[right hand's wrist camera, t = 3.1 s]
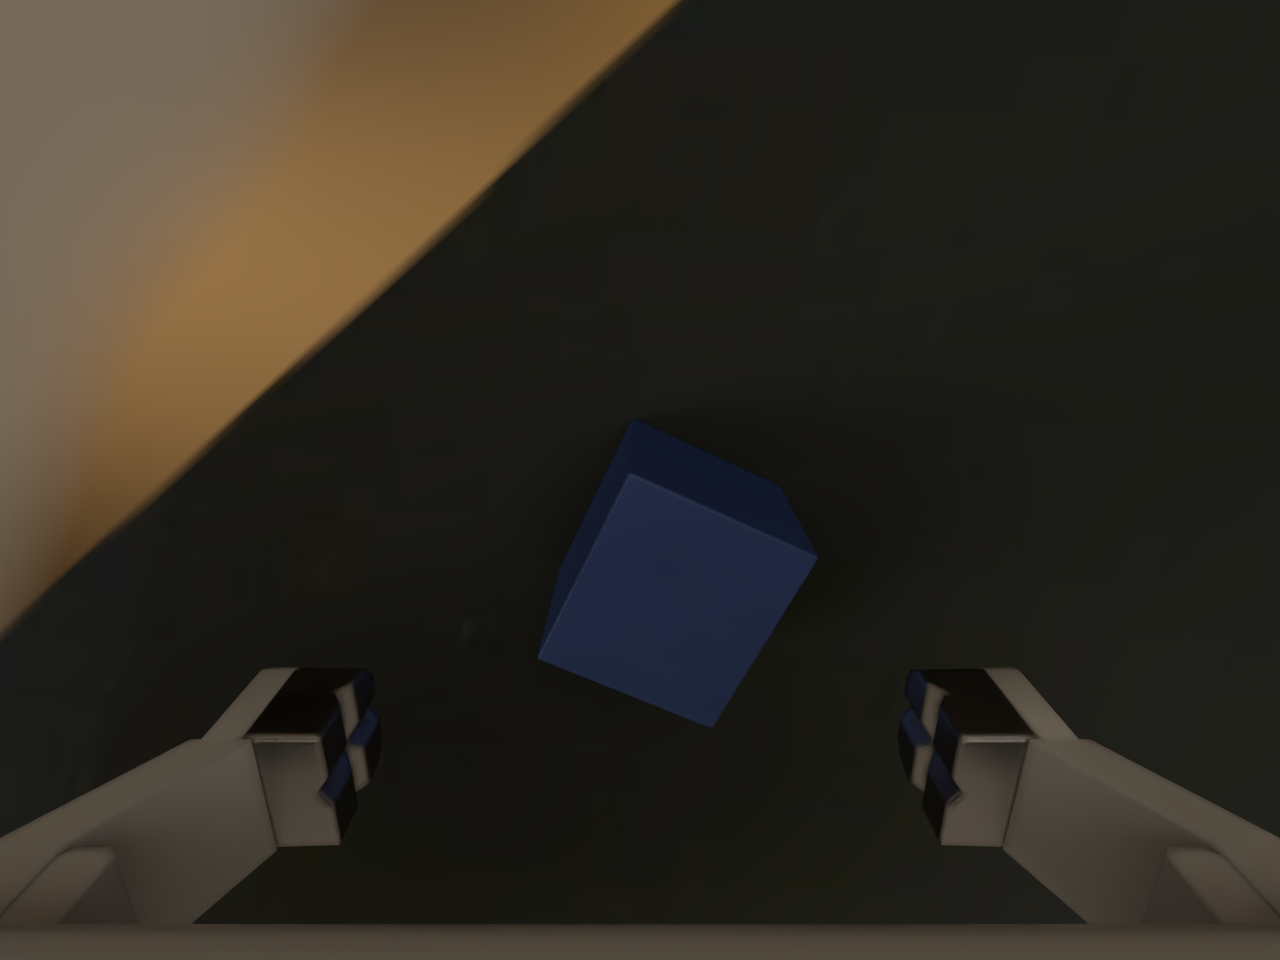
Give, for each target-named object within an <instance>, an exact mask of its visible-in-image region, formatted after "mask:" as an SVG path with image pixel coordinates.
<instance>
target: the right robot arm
mask: <svg viewBox="0 0 1280 960" xmlns="http://www.w3.org/2000/svg"><path fill="white" fill-rule="evenodd" d="M375 693H376V691H375V686H374V681H373V676H372V673H371V672H369V671H368V670H367V669H354V668H308V667H303V668H298V667H269V668H267V669H264V670H261V671H260V672H259V673H258V674H257V675H256V677H255V678H254V679H253V680H252V681H251V682H250V683H249V685H248V686H247V687H246V688H245V689H244V690H243V692H242V693H241V694H240V695H239V696H238V697H237V699H236V700H235V701H234V702H233V703H232V704H231V705H230V707H229V708H228V709H227V710H226V711H225V712H224V714H223V715H222V716H221V717H220V718H219V719H218V720H217V722H216V723H215V724H214V725H213V726H212V727H211V729H210V730H209V731H208V732H207V733H206V734H205V736H204V737H203V738H202V739H190V740H188V741H186V742H184V743H182V744H180V745H178V746H177V747H175V748H173V749H171V750H169V751H167V752H165V753H163V754H161V755H159V756H157V757H155V758H153V759H151V760H150V761H148V762H146V763H144V764H142V765H140V766H138V767H136V768H134V769H132V770H130V771H128V772H126V773H124V774H123V775H121V776H119V777H117V778H115V779H113V780H111V781H109V782H107V783H105V784H103V785H101V786H99V787H97V788H96V789H94V790H92V791H90V792H88V793H86V794H84V795H82V796H80V797H78V798H76V799H74V800H72V801H70V802H68V803H67V804H65V805H63V806H61V807H59V808H57V809H55V810H53V811H51V812H49V813H47V814H45V815H43V816H41V817H40V818H38V819H36V820H34V821H32V822H30V823H28V824H26V825H24V826H22V827H20V828H18V829H16V830H14V831H13V832H11V833H9V834H7V835H5V836H3V837H1V838H0V960H1280V838H1279V837H1277V836H1275V835H1273V834H1271V833H1269V832H1267V831H1265V830H1263V829H1261V828H1259V827H1257V826H1255V825H1254V824H1252V823H1250V822H1248V821H1246V820H1244V819H1242V818H1240V817H1238V816H1236V815H1234V814H1232V813H1230V812H1228V811H1227V810H1225V809H1223V808H1221V807H1219V806H1217V805H1215V804H1213V803H1211V802H1209V801H1207V800H1205V799H1203V798H1202V797H1200V796H1198V795H1196V794H1194V793H1192V792H1190V791H1188V790H1186V789H1184V788H1182V787H1180V786H1178V785H1177V784H1175V783H1173V782H1171V781H1169V780H1167V779H1165V778H1163V777H1161V776H1159V775H1157V774H1155V773H1153V772H1152V771H1150V770H1148V769H1146V768H1144V767H1142V766H1140V765H1138V764H1136V763H1134V762H1132V761H1130V760H1128V759H1126V758H1125V757H1123V756H1121V755H1119V754H1117V753H1115V752H1113V751H1111V750H1109V749H1107V748H1105V747H1103V746H1101V745H1100V744H1098V743H1096V742H1094V741H1092V740H1090V739H1078V738H1077V737H1076V736H1075V734H1074V733H1073V732H1072V731H1071V730H1070V729H1069V727H1068V726H1067V725H1066V724H1065V723H1064V722H1063V721H1062V719H1061V718H1060V717H1059V716H1058V715H1057V714H1056V712H1055V711H1054V710H1053V709H1052V708H1051V707H1050V706H1049V704H1048V703H1047V702H1046V701H1045V700H1044V699H1043V697H1042V696H1041V695H1040V694H1039V693H1038V692H1037V690H1036V689H1035V688H1034V687H1033V686H1032V685H1031V684H1030V682H1029V681H1028V680H1027V679H1026V678H1025V677H1024V675H1023V674H1022V673H1021V672H1020V671H1019V670H1017V669H1015V668H1013V667H990V668H977V669H915V670H910V672H909V674H908V676H907V679H906V685H905V690H904V693H905V695H906V697H907V699H908V700H909V702H910V704H911V707H910V708H909V709H908V710H907V711H906V712H905V713H904V714H903V715H902V716H901V717H900V723H899V731H898V741H899V752H900V757H901V761H902V764H903V768H904V770H905V772H906V775H907V777H908V779H909V781H910V783H912V784H913V785H915V786H916V787H917V788H919V789H920V790H921V791H923V792H924V797H923V803H922V808H923V810H924V812H925V814H926V816H927V818H928V820H929V822H930V824H931V826H932V828H933V830H934V832H935V834H936V836H937V838H938V840H939V842H940V844H941V845H963V846H998V847H1003V850H1004V851H1005V852H1006V853H1007V854H1008V855H1010V856H1011V857H1012V858H1013V859H1014V860H1015V861H1017V862H1018V863H1019V864H1020V865H1021V866H1022V867H1024V868H1025V869H1026V870H1027V871H1028V872H1029V873H1031V874H1032V875H1033V876H1034V877H1035V878H1036V879H1038V880H1039V881H1040V882H1041V883H1042V884H1043V885H1045V886H1046V887H1047V888H1048V889H1049V890H1050V891H1052V892H1053V893H1054V894H1055V895H1056V896H1057V897H1058V898H1060V899H1061V900H1062V901H1063V902H1064V903H1065V904H1067V905H1068V906H1069V907H1070V908H1071V909H1072V910H1074V911H1075V912H1076V913H1077V914H1078V915H1079V916H1081V917H1082V918H1083V919H1084V920H1085V921H1086V922H1088V923H1089V924H191V923H193V922H194V921H195V920H196V919H197V918H198V917H200V916H201V915H202V914H203V913H204V912H205V911H207V910H208V909H209V908H210V907H211V906H212V905H214V904H215V903H216V902H217V901H218V900H219V899H221V898H222V897H223V896H224V895H225V894H226V893H228V892H229V891H230V890H231V889H232V888H233V887H235V886H236V885H237V884H238V883H239V882H240V881H242V880H243V879H244V878H245V877H246V876H247V875H249V874H250V873H251V872H252V871H253V870H254V869H256V868H257V867H258V866H259V865H260V864H261V863H263V862H264V861H265V860H266V859H267V858H268V857H270V856H271V855H272V854H273V853H274V852H275V851H277V847H282V846H316V845H339V844H340V842H341V840H342V838H343V836H344V834H345V832H346V830H347V828H348V826H349V824H350V822H351V820H352V818H353V816H354V814H355V812H356V810H357V808H358V803H357V797H356V792H357V791H359V790H360V789H361V788H363V787H364V786H365V785H367V784H368V783H370V781H371V779H372V777H373V774H374V772H375V770H376V768H377V765H378V760H379V756H380V751H381V745H382V729H381V722H380V717H379V716H378V715H377V714H376V713H375V712H374V711H373V710H372V709H371V708H370V707H369V704H370V702H371V700H372V699H373V697H374V695H375Z"/></svg>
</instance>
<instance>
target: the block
mask: <svg viewBox="0 0 1280 960" xmlns="http://www.w3.org/2000/svg"><path fill="white" fill-rule="evenodd" d="M817 559H818V556H817V554H816V552H815V550H814V549H813V547H812V545H811V543H810V541H809V539H808V537H807V536H806V534H805V532H804V530H803V528H802V526H801V524H800V522H799V521H798V519H797V517H796V515H795V513H794V511H793V509H792V508H791V506H790V504H789V502H788V500H787V498H786V496H785V495H784V493H783V491H782V489H781V487H780V486H779V485H777V484H775V483H773V482H770V481H768V480H766V479H764V478H762V477H760V476H757V475H755V474H753V473H751V472H749V471H747V470H744V469H742V468H740V467H738V466H736V465H734V464H731V463H729V462H727V461H725V460H723V459H721V458H718V457H716V456H714V455H712V454H710V453H708V452H705V451H703V450H701V449H699V448H697V447H695V446H692V445H690V444H688V443H686V442H684V441H682V440H679V439H677V438H675V437H673V436H671V435H669V434H667V433H664V432H662V431H660V430H658V429H656V428H654V427H651V426H649V425H647V424H645V423H643V422H641V421H638V420H636V419H632V420H631V422H630V424H629V426H628V428H627V430H626V432H625V434H624V436H623V439H622V441H621V443H620V445H619V447H618V449H617V451H616V453H615V455H614V457H613V459H612V461H611V463H610V465H609V467H608V469H607V472H606V474H605V476H604V478H603V480H602V482H601V484H600V486H599V488H598V490H597V492H596V494H595V496H594V498H593V500H592V502H591V504H590V507H589V509H588V511H587V513H586V515H585V517H584V519H583V521H582V523H581V525H580V527H579V529H578V531H577V533H576V535H575V537H574V540H573V542H572V544H571V546H570V548H569V550H568V552H567V554H566V556H565V558H564V560H563V562H562V564H561V566H560V568H559V572H558V576H557V580H556V584H555V588H554V592H553V596H552V600H551V604H550V608H549V612H548V616H547V620H546V624H545V628H544V632H543V636H542V640H541V644H540V648H539V652H538V659H540V660H542V661H544V662H547V663H549V664H552V665H554V666H557V667H559V668H562V669H564V670H567V671H569V672H572V673H574V674H577V675H579V676H582V677H584V678H587V679H589V680H592V681H594V682H597V683H599V684H602V685H604V686H607V687H609V688H612V689H614V690H617V691H619V692H622V693H624V694H627V695H629V696H632V697H634V698H637V699H639V700H642V701H644V702H647V703H649V704H652V705H654V706H657V707H659V708H662V709H664V710H667V711H669V712H672V713H674V714H677V715H679V716H682V717H684V718H687V719H689V720H692V721H694V722H697V723H699V724H702V725H704V726H707V727H709V728H712V727H713V726H714V724H715V723H716V721H717V720H718V718H719V716H720V715H721V713H722V712H723V710H724V708H725V707H726V705H727V704H728V702H729V700H730V699H731V697H732V696H733V694H734V692H735V691H736V689H737V688H738V686H739V684H740V683H741V681H742V680H743V678H744V676H745V675H746V673H747V672H748V670H749V668H750V667H751V665H752V664H753V662H754V660H755V659H756V657H757V656H758V654H759V652H760V651H761V649H762V648H763V646H764V644H765V643H766V641H767V640H768V638H769V636H770V635H771V633H772V632H773V630H774V628H775V627H776V625H777V624H778V622H779V620H780V619H781V617H782V616H783V614H784V612H785V611H786V609H787V608H788V606H789V604H790V603H791V601H792V599H793V598H794V596H795V595H796V593H797V591H798V590H799V588H800V587H801V585H802V583H803V582H804V580H805V579H806V577H807V575H808V574H809V572H810V571H811V569H812V567H813V566H814V564H815V563H816V561H817Z"/></svg>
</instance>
